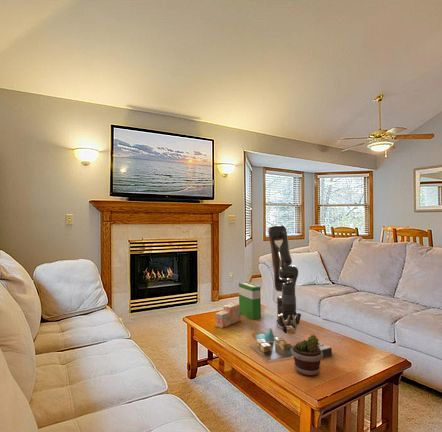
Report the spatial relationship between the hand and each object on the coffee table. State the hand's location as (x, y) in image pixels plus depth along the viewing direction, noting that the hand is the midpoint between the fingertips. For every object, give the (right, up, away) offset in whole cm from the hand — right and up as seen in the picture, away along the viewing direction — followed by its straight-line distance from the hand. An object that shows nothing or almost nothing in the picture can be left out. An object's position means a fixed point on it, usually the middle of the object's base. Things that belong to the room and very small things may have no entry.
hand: (289, 332), depth 168 cm
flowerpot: (+2, -12, -20) cm, 23 cm away
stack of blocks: (-28, -13, +49) cm, 58 cm away
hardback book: (-10, -12, +65) cm, 67 cm away
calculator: (+15, -12, +2) cm, 19 cm away
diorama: (-8, -13, +21) cm, 26 cm away
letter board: (-6, -12, +3) cm, 14 cm away
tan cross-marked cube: (0, 0, 0) cm, 0 cm away
